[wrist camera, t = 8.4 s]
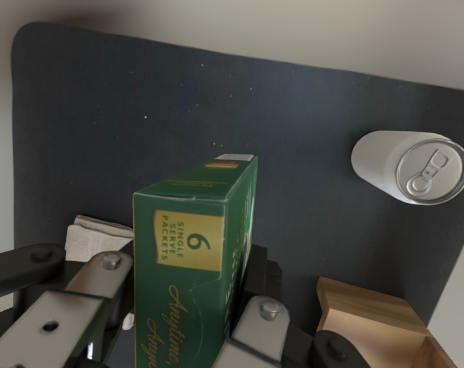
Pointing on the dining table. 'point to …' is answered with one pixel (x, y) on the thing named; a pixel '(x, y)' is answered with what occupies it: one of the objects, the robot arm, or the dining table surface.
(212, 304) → the coffee box
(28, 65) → the dining table surface
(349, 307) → the shelf
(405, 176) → the can
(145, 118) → the dining table surface
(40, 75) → the dining table surface
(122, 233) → the washcloth
